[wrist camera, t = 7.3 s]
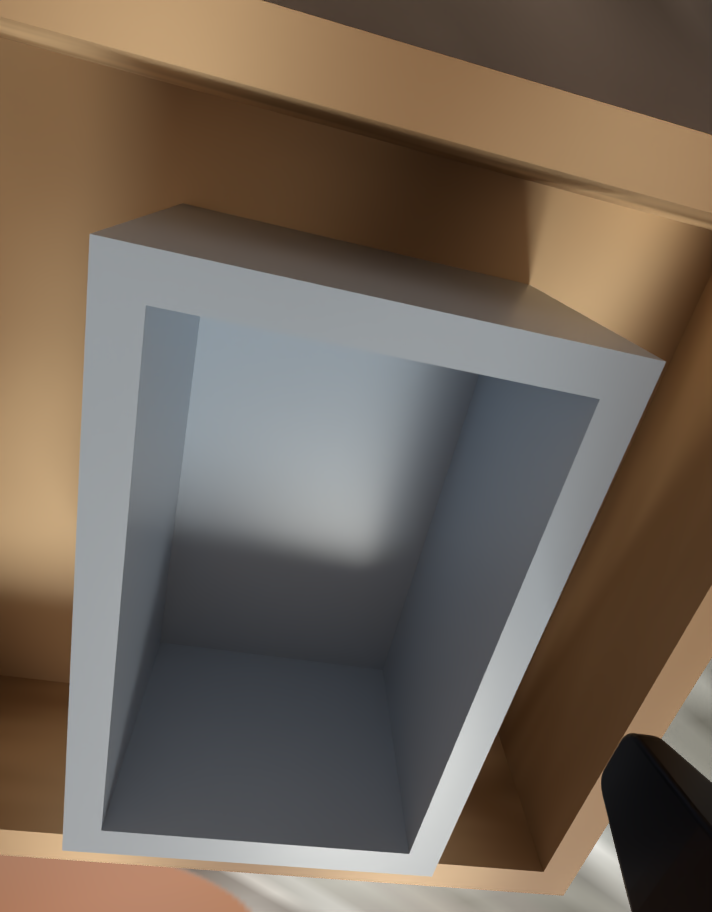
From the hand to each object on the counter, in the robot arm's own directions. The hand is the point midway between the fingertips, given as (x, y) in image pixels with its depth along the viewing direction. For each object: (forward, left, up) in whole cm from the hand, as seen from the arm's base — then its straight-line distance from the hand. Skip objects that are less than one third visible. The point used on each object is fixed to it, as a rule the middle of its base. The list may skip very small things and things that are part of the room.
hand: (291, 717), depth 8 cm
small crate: (0, 0, -6) cm, 6 cm away
